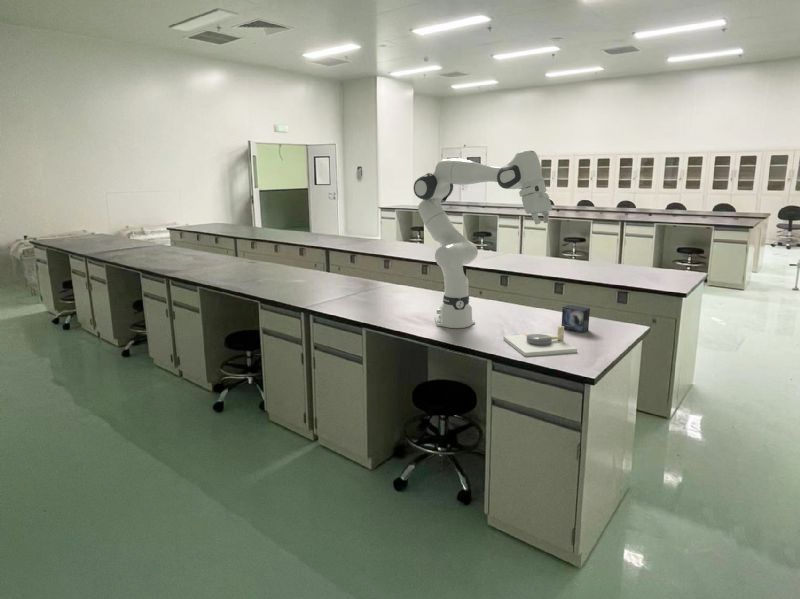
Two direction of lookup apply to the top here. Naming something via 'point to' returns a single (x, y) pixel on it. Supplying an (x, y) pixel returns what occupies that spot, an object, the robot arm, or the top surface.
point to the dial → (545, 337)
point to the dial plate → (539, 346)
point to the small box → (575, 318)
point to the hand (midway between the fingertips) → (542, 223)
